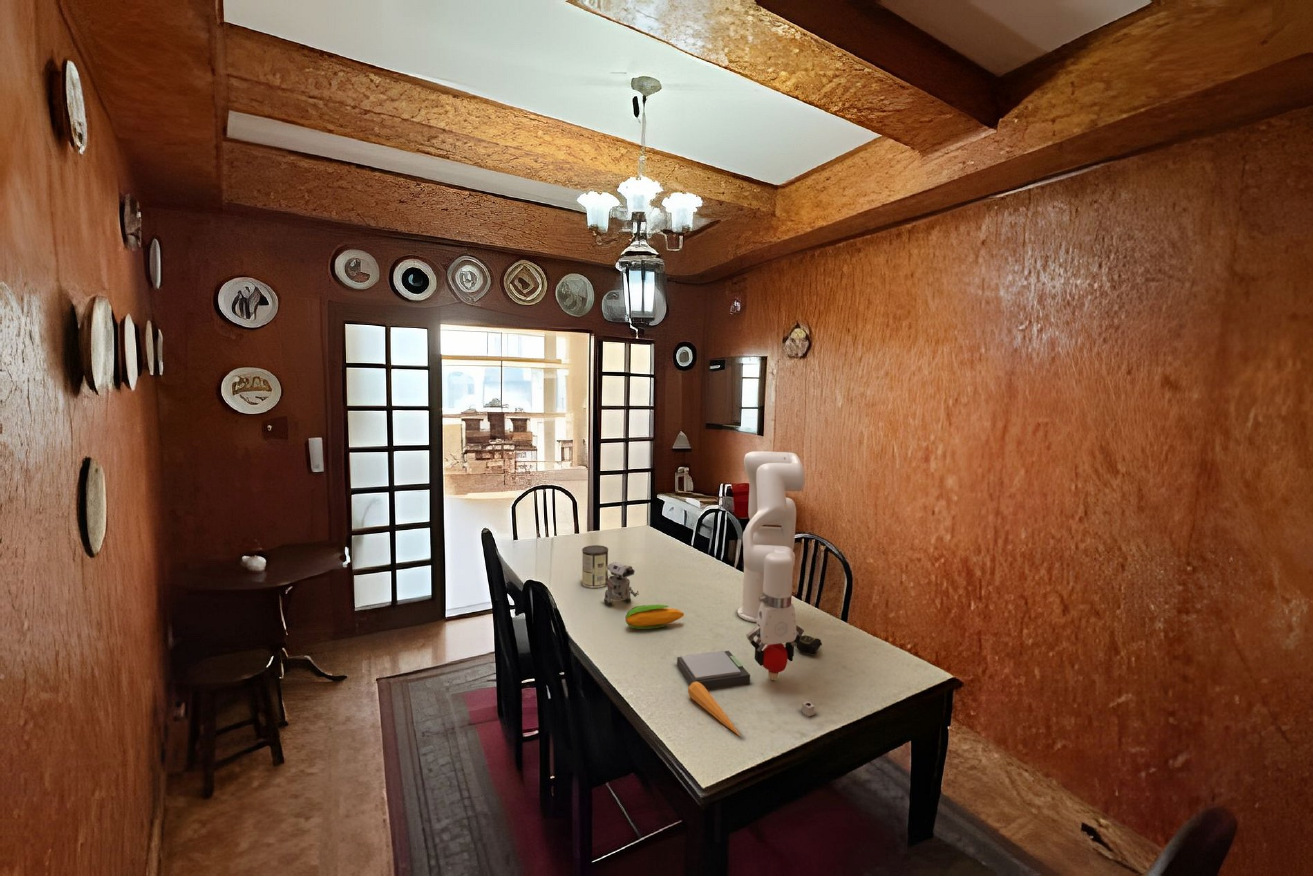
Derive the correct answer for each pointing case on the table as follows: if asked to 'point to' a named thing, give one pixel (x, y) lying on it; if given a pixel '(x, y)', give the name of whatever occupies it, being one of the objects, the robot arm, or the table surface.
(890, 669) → the table surface
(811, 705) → the white block with hole
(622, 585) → the figurine
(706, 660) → the scale
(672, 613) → the corn
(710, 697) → the carrot
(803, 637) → the tape measure
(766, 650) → the red rounded piece
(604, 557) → the coffee can
